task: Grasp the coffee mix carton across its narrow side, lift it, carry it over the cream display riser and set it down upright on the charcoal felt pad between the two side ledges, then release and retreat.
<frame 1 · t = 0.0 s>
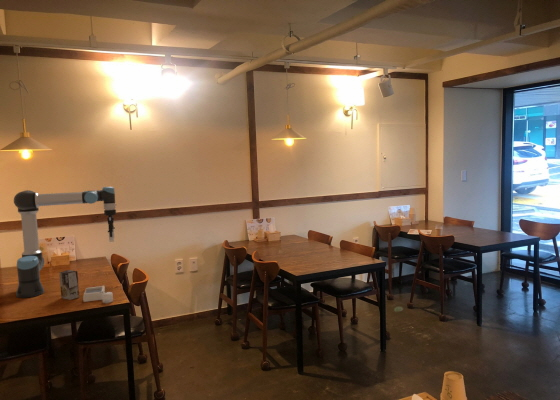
hand: (111, 240, 297), 28 cm above the table, fingers open, 13 cm apart
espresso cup: (107, 301, 251), on the table
coffee box: (70, 297, 262), on the table
riser: (94, 297, 260), on the table
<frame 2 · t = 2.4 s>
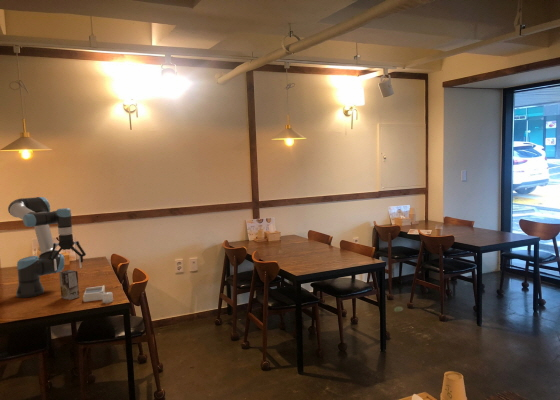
hand: (68, 269, 260), 18 cm above the table, fingers open, 13 cm apart
nothing on the table moved.
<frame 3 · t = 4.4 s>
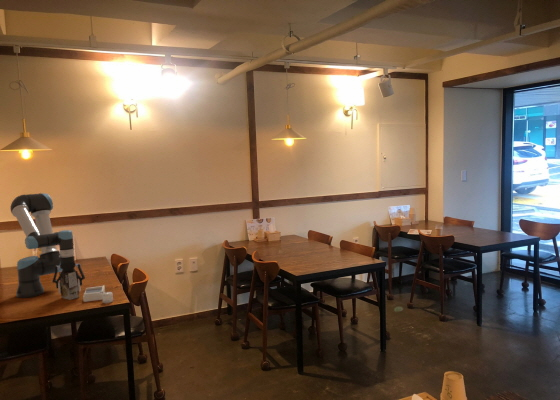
hand: (69, 292, 261), 3 cm above the table, fingers closed on coffee box, 10 cm apart
coffee box: (70, 297, 262), on the table, touching gripper
everything else where it was.
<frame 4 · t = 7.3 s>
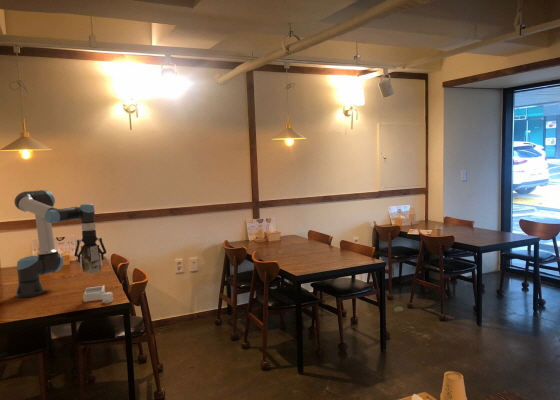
hand: (91, 266, 259), 19 cm above the table, fingers closed on coffee box, 10 cm apart
coffee box: (92, 272, 259), point 15 cm above the table, touching gripper
everything else where it was.
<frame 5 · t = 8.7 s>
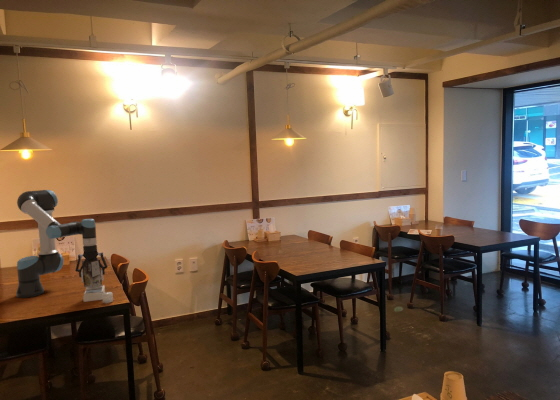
hand: (92, 281, 259), 10 cm above the table, fingers closed on coffee box, 10 cm apart
coffee box: (93, 287, 260), point 6 cm above the table, touching gripper
everything else where it was.
when the fingers open (8 cm above the table, at t = 10.1 s): coffee box drops 2 cm, resting on riser.
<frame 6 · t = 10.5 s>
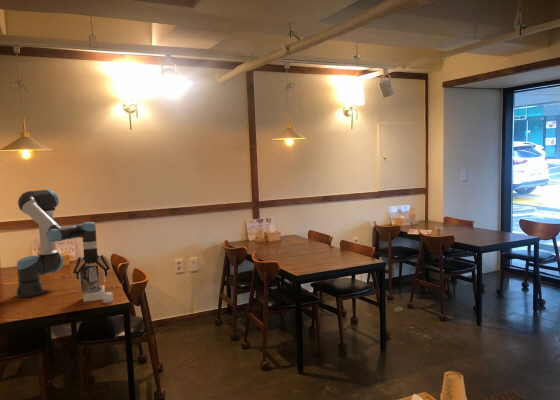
hand: (92, 282, 260), 9 cm above the table, fingers open, 13 cm apart
coffee box: (90, 292, 260), point 3 cm above the table, touching riser
everything else where it was.
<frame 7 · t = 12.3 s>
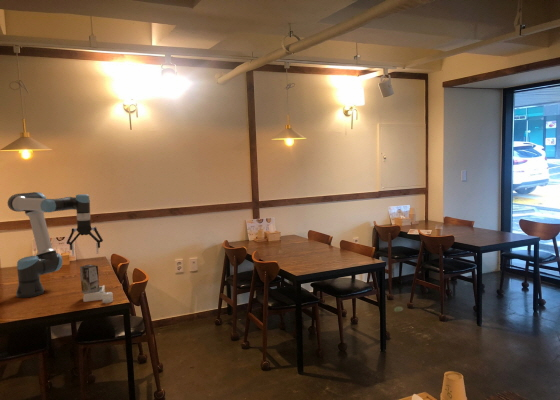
hand: (85, 254, 264), 25 cm above the table, fingers open, 13 cm apart
nothing on the table moved.
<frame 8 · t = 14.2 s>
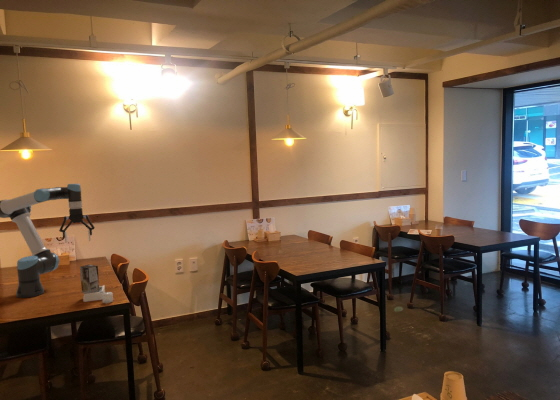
hand: (78, 241, 274), 32 cm above the table, fingers open, 13 cm apart
nothing on the table moved.
at the end: coffee box inside the target area on the riser (1.5 cm from its centre), point 3.0 cm above the riser's base; coffee box tilted 0°; the gripper is holding nothing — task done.
